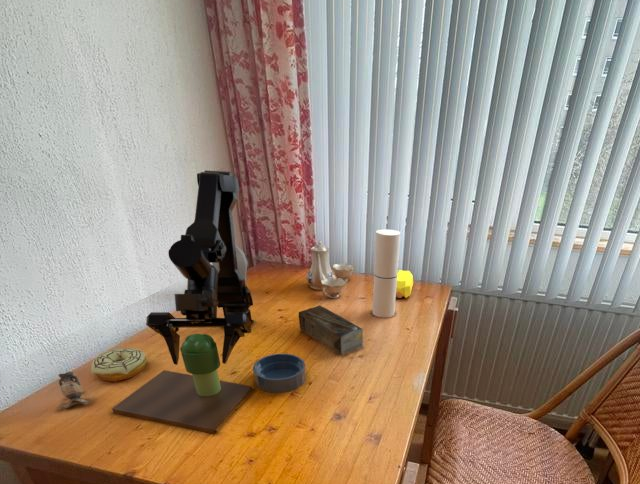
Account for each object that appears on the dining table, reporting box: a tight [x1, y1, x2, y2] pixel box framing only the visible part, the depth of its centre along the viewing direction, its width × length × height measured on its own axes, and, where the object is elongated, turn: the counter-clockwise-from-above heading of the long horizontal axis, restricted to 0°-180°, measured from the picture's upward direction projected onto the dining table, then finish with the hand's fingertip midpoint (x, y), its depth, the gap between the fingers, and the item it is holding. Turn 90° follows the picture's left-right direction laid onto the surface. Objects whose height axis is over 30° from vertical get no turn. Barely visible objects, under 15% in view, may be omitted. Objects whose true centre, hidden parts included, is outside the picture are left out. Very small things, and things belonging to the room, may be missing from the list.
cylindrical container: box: [371, 228, 402, 319], centre depth 117 cm, size 7×7×25 cm
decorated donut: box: [90, 347, 148, 383], centre depth 87 cm, size 10×11×4 cm
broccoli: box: [179, 333, 221, 396], centre depth 79 cm, size 7×7×13 cm
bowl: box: [252, 353, 307, 394], centre depth 88 cm, size 11×11×4 cm
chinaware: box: [305, 240, 355, 299], centre depth 137 cm, size 28×17×17 cm, turn 179°
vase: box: [58, 371, 90, 411], centre depth 77 cm, size 5×5×6 cm
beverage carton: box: [298, 305, 364, 355], centre depth 105 cm, size 8×19×7 cm, turn 45°
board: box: [111, 369, 254, 435], centre depth 80 cm, size 22×15×1 cm
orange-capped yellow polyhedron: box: [396, 269, 414, 299], centre depth 139 cm, size 18×7×8 cm
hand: (199, 363), depth 77 cm, fingers open, 9 cm apart
